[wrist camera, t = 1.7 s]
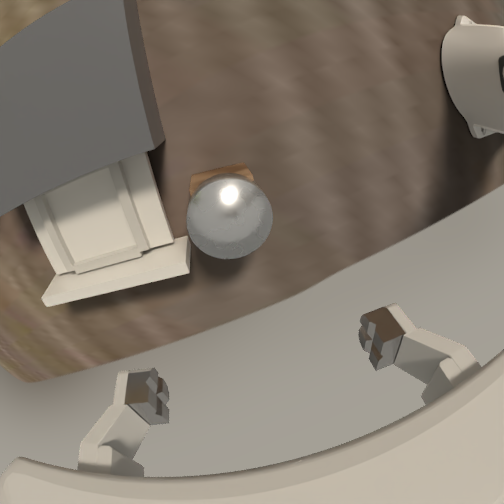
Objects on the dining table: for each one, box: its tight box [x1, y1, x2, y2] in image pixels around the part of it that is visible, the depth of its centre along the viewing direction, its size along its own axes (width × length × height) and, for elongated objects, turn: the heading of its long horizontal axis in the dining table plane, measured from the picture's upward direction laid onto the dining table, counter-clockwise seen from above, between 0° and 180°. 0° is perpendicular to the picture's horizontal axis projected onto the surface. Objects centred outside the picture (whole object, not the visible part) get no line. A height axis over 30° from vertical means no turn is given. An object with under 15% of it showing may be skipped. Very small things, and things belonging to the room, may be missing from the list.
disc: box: [186, 173, 273, 259], centre depth 21 cm, size 6×6×2 cm
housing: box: [0, 0, 165, 216], centre depth 16 cm, size 18×15×6 cm
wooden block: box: [189, 163, 254, 196], centre depth 24 cm, size 5×5×5 cm
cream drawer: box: [23, 152, 191, 307], centre depth 22 cm, size 17×15×5 cm
